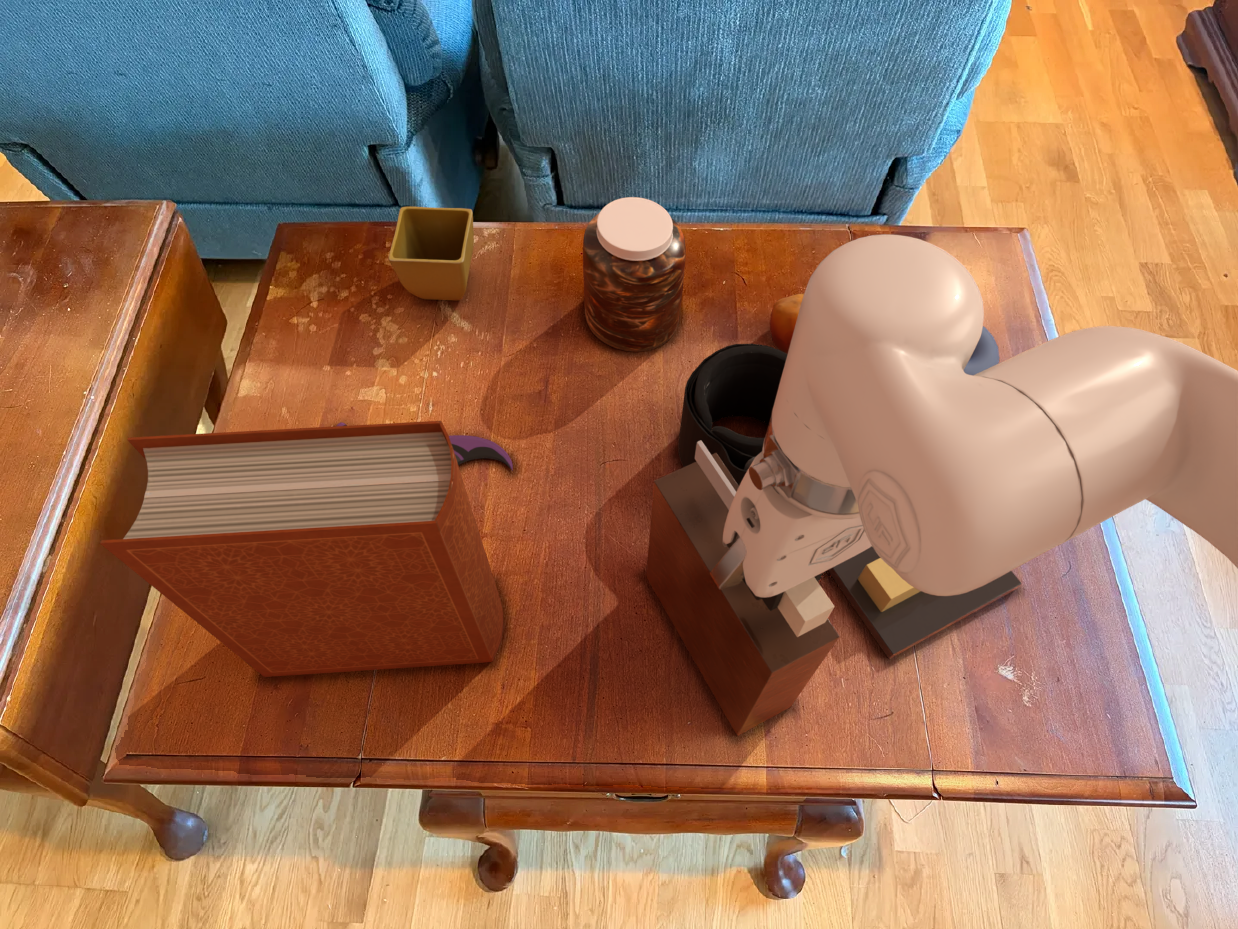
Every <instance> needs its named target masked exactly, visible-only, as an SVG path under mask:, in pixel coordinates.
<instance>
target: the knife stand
mask: <svg viewBox="0 0 1238 929" xmlns="http://www.w3.org/2000/svg"><path fill="white" fill-rule="evenodd" d="M712 457H713V458H714V460H715V461H716V463H717V464H718V466H719V467H720V469H721V470H722V472H723V473H724V475H725V476H726V478H727V479H728V480H729V482H730V483H731V485H732V486H733V488H734V489H735V491H736V492H737V490H738V488H739V486H738V484H737V483H736V481H735V480H734V478H733V477H732V475H731V474H730V472H729V471H728V469H727V468H726V466H725V465H724V463H723V462H722V460H721V459H720V457H719V456H718V454H717V453H714V454H712ZM728 512H729V509H728V508H727V506H726V505H725V503H724V502H723V500H722V499H721V497H720V496H719V494H718V493H717V491H716V490H715V488H714V487H713V485H712V484H711V482H710V481H709V479H708V478H707V476H706V475H705V473H704V472H703V470H702V469H701V467H700V466H699V464H698V463H697V462H694V463H692V464H690V465H688V466H686V467H683V466H682V468H679V469H677V470H675V471H672V472H670V473H668V474H666V475H664V476H662V477H660V478H657V479H655V480H653V488H652V501H651V513H650V523H649V524H650V525H649V536H648V548H647V559H646V560H647V561H646V572H645V578H646V579H647V581H648V583H649V585H650V586H651V588H652V590H653V592H654V593H655V595H656V597H657V599H658V600H659V602H660V604H661V606H662V607H663V609H664V611H665V613H666V614H667V616H668V618H669V620H670V622H671V623H672V625H673V627H674V629H675V630H676V632H677V634H678V635H679V637H680V639H681V641H682V643H683V644H684V646H685V648H686V649H687V651H688V653H689V655H690V656H691V658H692V660H693V661H694V664H695V666H696V667H697V668H698V670H699V672H700V674H701V676H702V678H703V679H704V681H705V683H706V684H707V686H708V687H709V689H710V691H711V693H712V695H713V697H714V698H715V700H716V702H717V703H718V705H719V707H720V708H721V711H722V713H723V714H724V716H725V717H726V719H727V721H728V723H729V724H730V727H731V728H732V730H733V731H734V734H735V735H736V736H737V737H738V736H741V735H743V734H744V733H746V732H748V731H749V730H751V729H754V728H755V727H757V726H759V725H761V724H763V723H764V722H766V721H768V720H770V719H771V718H773V717H775V716H777V715H779V714H781V713H783V712H784V711H786V710H788V709H790V708H791V707H792V706H793V704H795V702H796V700H797V699H798V697H799V696H800V694H801V693H802V692H803V690H804V689H805V687H806V686H807V684H808V683H809V681H810V680H811V679H812V678H813V676H814V674H816V671H817V670H818V669H819V667H820V666H821V664H822V663H823V661H824V660H825V659H826V657H827V656H828V654H829V653H830V652H831V650H832V648H833V647H834V646H835V644H836V643H837V641H838V640H839V639H840V637H841V636H840V634H839V632H838V631H837V629H836V628H835V627H834V626H833V624H832V622H831V620H830V619H829V618H828V619H827V620H826V622H825V623H823V624H821V625H819V626H818V627H816V628H814V629H812V630H810V631H808V632H806V633H804V634H802V635H801V636H799V637H797V636H796V635H795V633H794V632H793V630H792V629H791V627H790V626H789V624H788V622H787V621H786V619H785V618H784V616H783V615H782V613H781V612H780V610H779V609H778V607H777V608H776V609H774V610H772V611H770V610H769V609H768V608H767V606H766V605H765V603H764V601H763V600H762V599H760V600H756V599H755V598H754V596H753V595H752V593H751V592H750V590H749V588H748V586H747V585H746V584H745V583H744V581H743V582H741V583H740V584H739V585H736V586H733V587H730V588H727V589H723V590H719V588H718V587H717V585H716V583H715V582H714V580H713V579H712V577H711V575H710V572H711V571H712V570H713V568H714V567H715V566H716V565H717V563H718V562H719V561H720V560H721V559H722V557H723V556H724V555H725V554H726V552H727V551H728V550H729V549H730V548H728V547H724V546H723V531H724V526H725V522H726V519H727V515H728Z"/></svg>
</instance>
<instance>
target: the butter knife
mask: <svg viewBox="0 0 1238 929" xmlns="http://www.w3.org/2000/svg"><path fill="white" fill-rule="evenodd" d="M695 460H696V461H697V463H698V464H699V466H700V467H701V469H702V470H703V472H704V473H705V475H706V476H707V478H708V479H709V481H710V482H711V484H712V485H713V487H714V488H715V490H716V491H717V493H718V494H719V496H720V497H721V499H722V500H723V502H724V503H725V505H726V506H727V508H728V509H730V507H731V504H732V501H733V499H734V497H735V494H736V491H735V489H734V488H733V486H732V485H731V483H730V482H729V480H728V479H727V478H726V476H725V475H724V473H723V472H722V470H721V469H720V467H719V466H718V464H717V463H716V461H715V460H714V458H713V457H712V455H711V454H710V452H709V451H708V450H707V448H706V447H705V445H704V444H703V442H702V441H701V440H700V441H698V442H697V445H696V452H695ZM834 608H835V604H833V602H832V601H831V599H830V597H829V596H828V595H827V593H826V591H825V590H824V589H823V588H822V586H821V584H820V583H819V582H817V580H816V579H815V577H813V578H811V579H809V580H807V581H805V582H803V583H801V584H799V585H797V586H795V587H793V588H790V589H788V590H786V591H784V593H783V596H782V598H781V600H780V603H779V605H778V609H779V610H780V612H781V613H782V615H783V616H784V618H785V619H786V621H787V622H788V624H789V626H790V627H791V629H792V630H793V632H794V633H795V635H796V636H797V637H799V636H801V635H802V634H804V633H806V632H808V631H810V630H812V629H814V628H816V627H818V626H819V625H821V624H823V623H825V622H826V620H827V619H829V617H830V615H831V614H832V612H833V610H834Z"/></svg>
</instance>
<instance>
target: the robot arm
mask: <svg viewBox="0 0 1238 929" xmlns="http://www.w3.org/2000/svg"><path fill="white" fill-rule="evenodd" d="M984 322H985V309H984V300H983V296H982V293H981V290H980V288H979V286H978V284H977V282H976V280H975V278H974V276H973V275H972V274H971V272H970V271H969V270H968V268H967V267H966V266H965V265H964V264H963V262H961V261H960V260H958V259H957V258H956V256H954V255H953V254H952V253H949V252H948V251H947V250H945V249H943V248H941V247H939V246H937V245H935V244H934V243H931V242H929V241H925V240H923V239H920V238H917V237H912V236H907V235H901V234H889V233H888V234H886V233H884V234H883V233H881V234H872V235H871V234H870V235H867V236H863V237H859V238H858V237H857V238H855V239H853V240H851V241H848V242H846V243H844V244H842V245H840V246H839V247H837V248H835V249H834V250H832V251H831V252H830V253H829V254H828V255H827V256H825V258H824V259H822V260H821V262H820V263H819V264H818V265H817V267H816V268H815V270H814V271H813V272H812V274H811V275H810V277H809V279H808V282H807V284H806V288H805V290H804V296H803V299H802V303H801V306H800V310H799V314H798V318H797V321H796V325H795V329H794V332H793V336H792V340H791V344H790V347H789V351H788V355H787V359H786V362H785V366H784V369H783V373H782V377H781V380H780V384H779V388H778V392H777V395H776V399H775V403H774V406H773V410H772V414H771V417H770V421H769V425H767V428H766V432H765V435H764V438H765V439H764V444H763V449H762V452H761V453H759V454H758V455H757V456H756V457H755V459H754V460H753V462H752V464H751V465H750V467H749V469H748V470H747V472H746V474H745V476H744V478H743V480H742V481H741V484H740V486H739V488H738V490H737V492H736V494H735V497H734V499H733V501H732V504H731V507H730V509H729V512H728V515H727V519H726V522H725V526H724V531H723V546H724V547H728V548H730V549H729V550H728V551H727V552H726V554H725V555H724V556H723V557H722V559H721V560H720V561H719V562H718V563H717V565H716V566H715V567H714V568H713V570H712V571H711V572H710V575H711V577H712V579H713V580H714V582H715V583H716V585H717V587H718V588H719V590H723V589H727V588H730V587H733V586H736V585H739V584H740V583H741V582H743V581H744V583H745V584H746V585H747V586H748V588H749V590H750V592H751V593H752V595H753V596H754V598H755V599H756V600H760V599H762V600H763V601H764V603H765V605H766V606H767V608H768V609H769V610H770V611H772V610H774V609H776V608H777V607H778V605H779V603H780V600H781V598H782V596H783V593H784V591H786V590H788V589H790V588H793V587H795V586H797V585H799V584H801V583H803V582H805V581H807V580H809V579H811V578H813V577H815V579H816V580H817V582H818V583H819V581H820V580H821V577H822V576H823V574H824V573H825V572H826V571H828V569H830V568H832V567H834V566H836V565H838V564H840V563H842V562H844V561H846V560H848V559H850V558H852V557H854V556H855V555H857V554H859V553H861V552H863V551H865V550H866V549H868V548H870V547H871V546H872V547H873V548H874V550H875V551H876V553H877V554H878V555H879V557H880V558H881V559H882V560H883V561H884V562H885V563H886V564H887V565H889V566H890V567H891V568H892V569H894V571H895V572H896V573H897V574H898V575H899V576H900V577H901V578H902V579H903V580H904V581H906V582H907V583H908V584H910V585H911V586H913V587H914V588H916V589H918V590H919V591H922V592H925V593H928V594H931V595H936V596H952V595H959V594H963V593H967V592H969V591H972V590H974V589H977V588H979V587H982V586H984V585H986V584H987V583H989V582H991V581H993V580H995V579H997V578H999V577H1001V576H1003V575H1004V574H1006V573H1008V572H1010V571H1012V572H1013V571H1014V570H1015V569H1017V568H1020V567H1021V566H1023V565H1025V564H1027V563H1028V562H1031V561H1032V560H1034V559H1036V558H1038V557H1040V556H1042V555H1043V554H1045V553H1047V552H1048V551H1050V550H1052V549H1054V548H1056V547H1059V546H1061V545H1063V544H1065V543H1066V542H1068V541H1070V540H1073V539H1074V538H1076V537H1077V536H1080V535H1081V534H1083V533H1085V532H1087V531H1089V530H1091V529H1092V528H1094V527H1096V526H1098V525H1099V524H1101V523H1104V522H1105V521H1107V520H1109V519H1111V518H1113V517H1115V516H1116V515H1118V514H1121V513H1122V512H1124V511H1126V510H1127V509H1129V508H1132V507H1133V506H1135V505H1138V504H1139V503H1141V502H1143V501H1145V500H1146V501H1147V502H1149V503H1151V504H1153V505H1155V506H1156V507H1158V508H1159V509H1161V510H1162V511H1163V512H1164V513H1166V514H1168V515H1169V516H1171V517H1172V518H1174V519H1175V520H1177V521H1178V522H1180V523H1181V524H1183V525H1184V526H1186V527H1187V528H1188V529H1190V530H1192V531H1193V532H1195V533H1196V535H1199V537H1201V538H1203V539H1204V540H1205V541H1207V542H1208V543H1209V544H1210V545H1211V546H1213V547H1214V548H1215V549H1216V550H1218V551H1219V552H1220V553H1221V554H1222V555H1224V556H1225V557H1226V558H1227V560H1229V561H1230V562H1231V563H1232V564H1233V565H1234V566H1235V567H1236V569H1238V370H1237V369H1235V368H1233V367H1231V366H1230V365H1228V364H1227V363H1224V362H1222V361H1220V360H1219V359H1217V358H1215V357H1212V356H1210V355H1208V354H1206V353H1205V352H1202V351H1200V350H1199V349H1196V348H1194V347H1192V346H1190V345H1187V344H1185V343H1183V342H1181V341H1178V340H1175V339H1173V338H1170V337H1168V336H1164V335H1161V334H1158V333H1155V332H1151V331H1148V330H1145V329H1141V328H1136V327H1131V326H1130V327H1129V326H1120V325H1119V326H1117V325H1097V326H1092V327H1086V328H1080V329H1076V330H1072V331H1070V332H1066V333H1064V334H1062V335H1059V336H1057V337H1054V338H1052V339H1050V340H1047V341H1044V342H1042V343H1040V344H1038V345H1036V346H1033V347H1031V348H1028V349H1026V350H1024V351H1022V352H1020V353H1017V354H1015V355H1013V356H1011V357H1010V358H1008V359H1005V360H1003V361H1001V362H999V363H998V364H997V365H995V366H992V367H990V368H988V369H986V370H984V371H982V372H980V373H977V374H975V375H968V374H966V373H965V372H964V371H963V370H964V368H965V367H966V365H967V363H968V361H969V359H970V358H971V356H972V354H973V352H974V350H975V348H976V345H977V343H978V341H979V339H980V337H981V333H982V328H983V326H984Z"/></svg>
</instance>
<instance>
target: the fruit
mask: <svg viewBox="0 0 1238 929" xmlns="http://www.w3.org/2000/svg"><path fill="white" fill-rule="evenodd" d="M804 293H805V292H804ZM804 293H797V294H793V295H790V296H786V297H782V298H780V299H777V300H776V301H775V302H774V304H773V306H772V310H771V313H770V317H769V318H770V319H769V330H770V335H771V339H772V343H773V345H774V348H775V349H778V350H781V351H782V352H784V353H786V354H788V351H789V347H790V344H791V340H792V336H793V332H794V329H795V325H796V321H797V318H798V314H799V310H800V306H801V303H802V299H803V296H804Z"/></svg>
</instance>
